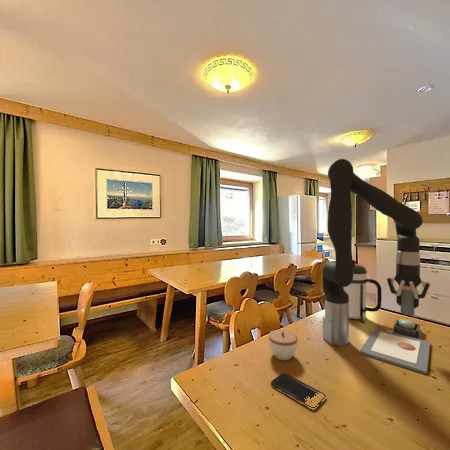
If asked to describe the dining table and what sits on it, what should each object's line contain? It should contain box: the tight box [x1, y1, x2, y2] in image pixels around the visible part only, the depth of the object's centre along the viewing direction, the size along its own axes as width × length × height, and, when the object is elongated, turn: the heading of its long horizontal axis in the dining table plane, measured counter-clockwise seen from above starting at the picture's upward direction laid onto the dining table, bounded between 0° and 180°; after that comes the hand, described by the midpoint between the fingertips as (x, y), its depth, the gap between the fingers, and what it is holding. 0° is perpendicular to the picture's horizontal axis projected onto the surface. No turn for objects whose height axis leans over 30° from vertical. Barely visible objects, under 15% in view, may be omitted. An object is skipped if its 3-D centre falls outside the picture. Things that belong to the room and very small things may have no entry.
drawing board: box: [359, 327, 431, 375], centre depth 100 cm, size 26×20×1 cm
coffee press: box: [343, 259, 382, 324], centre depth 130 cm, size 17×16×30 cm
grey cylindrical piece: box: [400, 285, 415, 316], centre depth 99 cm, size 5×5×11 cm
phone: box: [270, 372, 327, 408], centre depth 77 cm, size 8×1×15 cm
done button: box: [398, 318, 416, 330], centre depth 114 cm, size 6×6×2 cm
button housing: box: [391, 319, 422, 339], centre depth 114 cm, size 10×10×3 cm
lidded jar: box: [268, 329, 299, 361], centre depth 96 cm, size 11×11×9 cm
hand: (407, 306), depth 99 cm, fingers closed on grey cylindrical piece, 4 cm apart
